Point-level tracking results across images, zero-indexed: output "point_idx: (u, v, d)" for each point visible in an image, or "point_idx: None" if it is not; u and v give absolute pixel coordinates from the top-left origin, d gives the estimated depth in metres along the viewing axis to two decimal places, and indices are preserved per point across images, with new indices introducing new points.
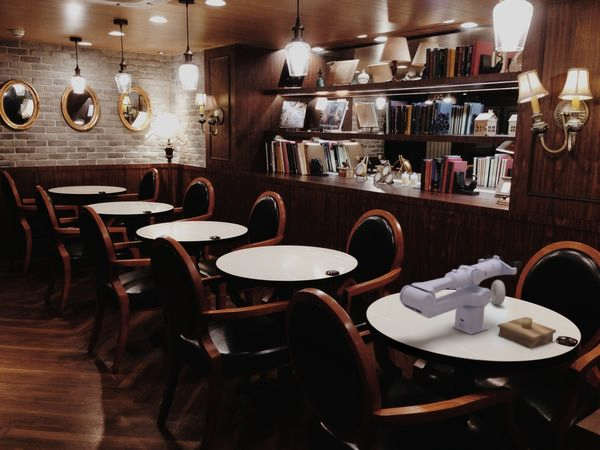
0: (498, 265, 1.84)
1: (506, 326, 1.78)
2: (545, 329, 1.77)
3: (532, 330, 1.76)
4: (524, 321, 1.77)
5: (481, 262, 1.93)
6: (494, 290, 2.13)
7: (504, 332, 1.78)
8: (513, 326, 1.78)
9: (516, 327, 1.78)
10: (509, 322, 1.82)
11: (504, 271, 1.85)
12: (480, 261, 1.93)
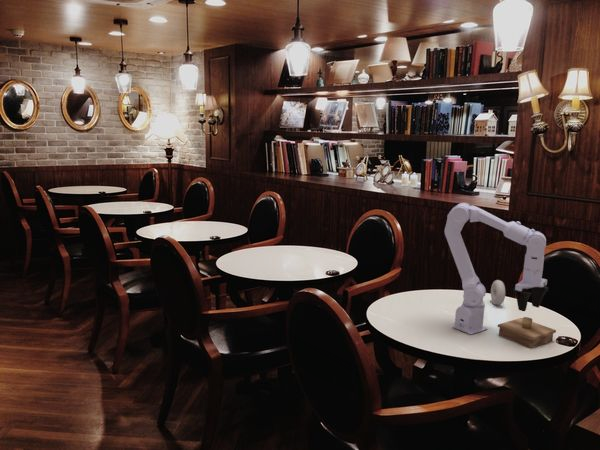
0: (531, 279, 1.72)
1: (506, 326, 1.78)
2: (545, 329, 1.77)
3: (532, 330, 1.76)
4: (524, 321, 1.77)
5: (542, 280, 1.78)
6: (494, 290, 2.13)
7: (504, 332, 1.78)
8: (513, 326, 1.78)
9: (516, 327, 1.78)
10: (509, 322, 1.82)
11: (522, 284, 1.74)
12: (544, 280, 1.78)
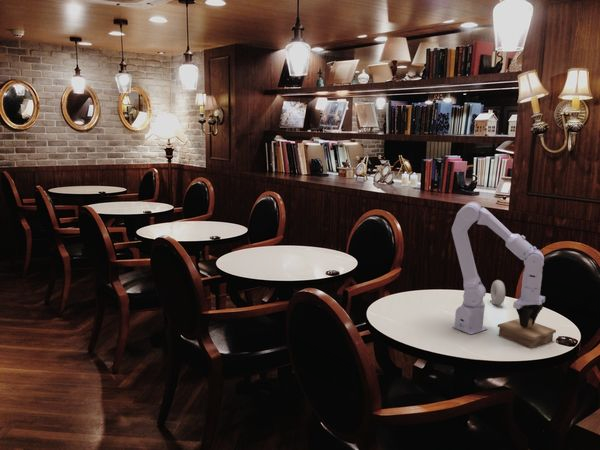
0: (529, 297, 1.73)
1: (506, 326, 1.78)
2: (545, 329, 1.77)
3: (532, 330, 1.76)
4: None
5: (540, 297, 1.79)
6: (494, 290, 2.13)
7: (504, 332, 1.78)
8: (513, 326, 1.78)
9: (516, 327, 1.78)
10: (509, 322, 1.82)
11: None
12: (542, 297, 1.80)
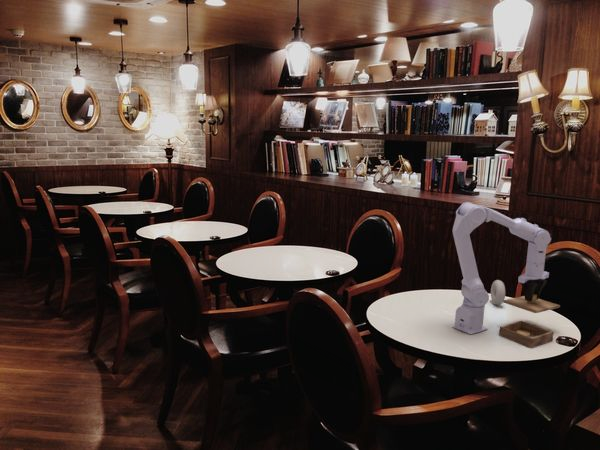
0: (534, 272, 1.81)
1: (511, 301, 1.86)
2: (550, 304, 1.84)
3: (536, 305, 1.83)
4: None
5: (544, 272, 1.87)
6: (494, 290, 2.13)
7: (504, 332, 1.78)
8: (518, 302, 1.86)
9: (521, 302, 1.86)
10: (515, 298, 1.90)
11: (525, 276, 1.83)
12: (546, 273, 1.87)
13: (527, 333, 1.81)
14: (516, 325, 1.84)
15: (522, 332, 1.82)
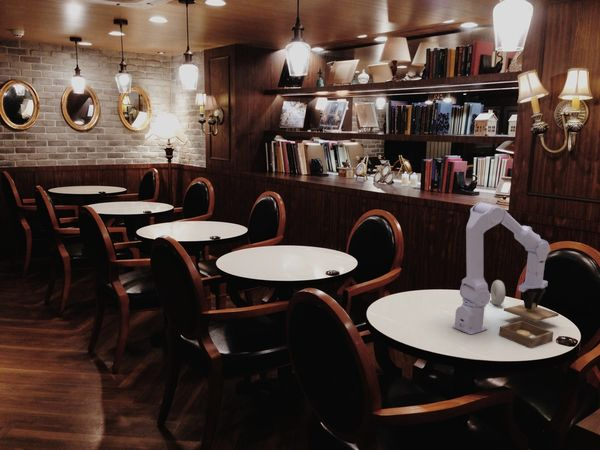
0: (533, 281, 1.87)
1: (511, 310, 1.93)
2: (549, 312, 1.90)
3: (536, 313, 1.89)
4: None
5: (543, 281, 1.93)
6: (494, 290, 2.13)
7: (504, 332, 1.78)
8: (518, 310, 1.92)
9: (521, 310, 1.92)
10: (515, 307, 1.96)
11: (525, 285, 1.89)
12: (545, 282, 1.94)
13: (527, 333, 1.81)
14: (516, 325, 1.84)
15: (522, 332, 1.82)
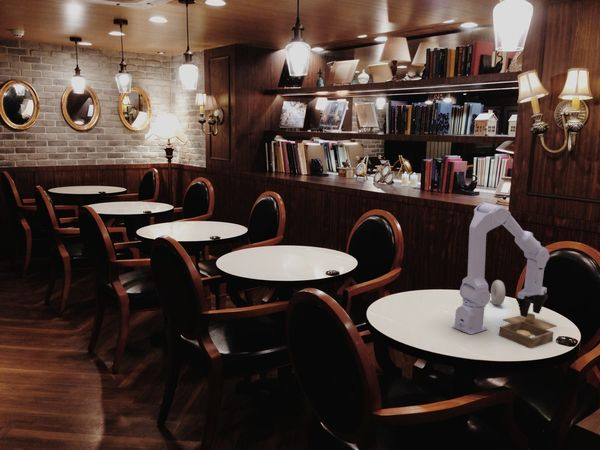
0: (532, 288, 1.88)
1: (510, 321, 1.93)
2: (547, 324, 1.91)
3: None
4: (527, 317, 1.92)
5: (543, 288, 1.94)
6: (494, 290, 2.13)
7: (504, 332, 1.78)
8: (516, 321, 1.93)
9: None
10: (514, 318, 1.97)
11: (524, 292, 1.89)
12: (544, 288, 1.94)
13: (527, 333, 1.81)
14: (516, 325, 1.84)
15: (522, 332, 1.82)
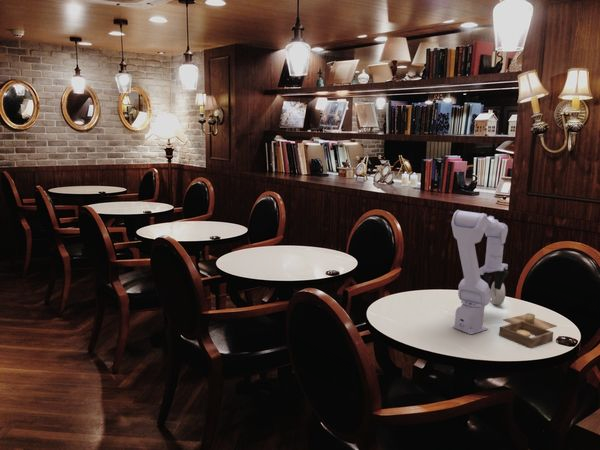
0: (492, 264, 1.91)
1: (510, 321, 1.93)
2: (547, 324, 1.91)
3: None
4: (527, 317, 1.92)
5: (503, 264, 1.97)
6: (494, 290, 2.13)
7: (504, 332, 1.78)
8: (516, 321, 1.93)
9: None
10: (514, 318, 1.97)
11: (484, 268, 1.92)
12: None
13: (527, 333, 1.81)
14: (516, 325, 1.84)
15: (522, 332, 1.82)
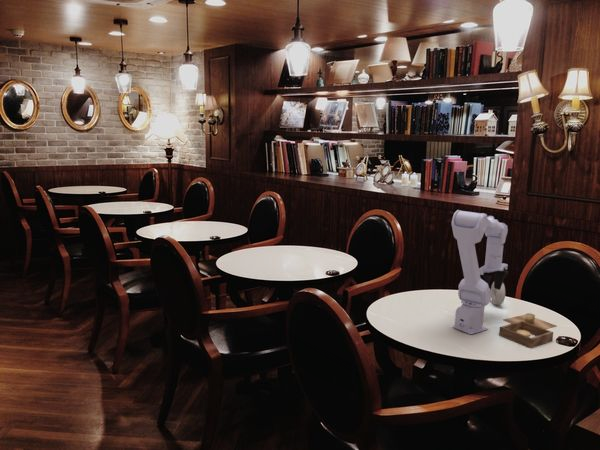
0: (492, 264, 1.91)
1: (510, 321, 1.93)
2: (547, 324, 1.91)
3: None
4: (527, 317, 1.92)
5: (503, 264, 1.97)
6: (494, 290, 2.13)
7: (504, 332, 1.78)
8: (517, 321, 1.93)
9: None
10: (514, 318, 1.97)
11: (484, 268, 1.92)
12: (505, 265, 1.97)
13: (527, 333, 1.81)
14: (516, 325, 1.84)
15: (522, 332, 1.82)
